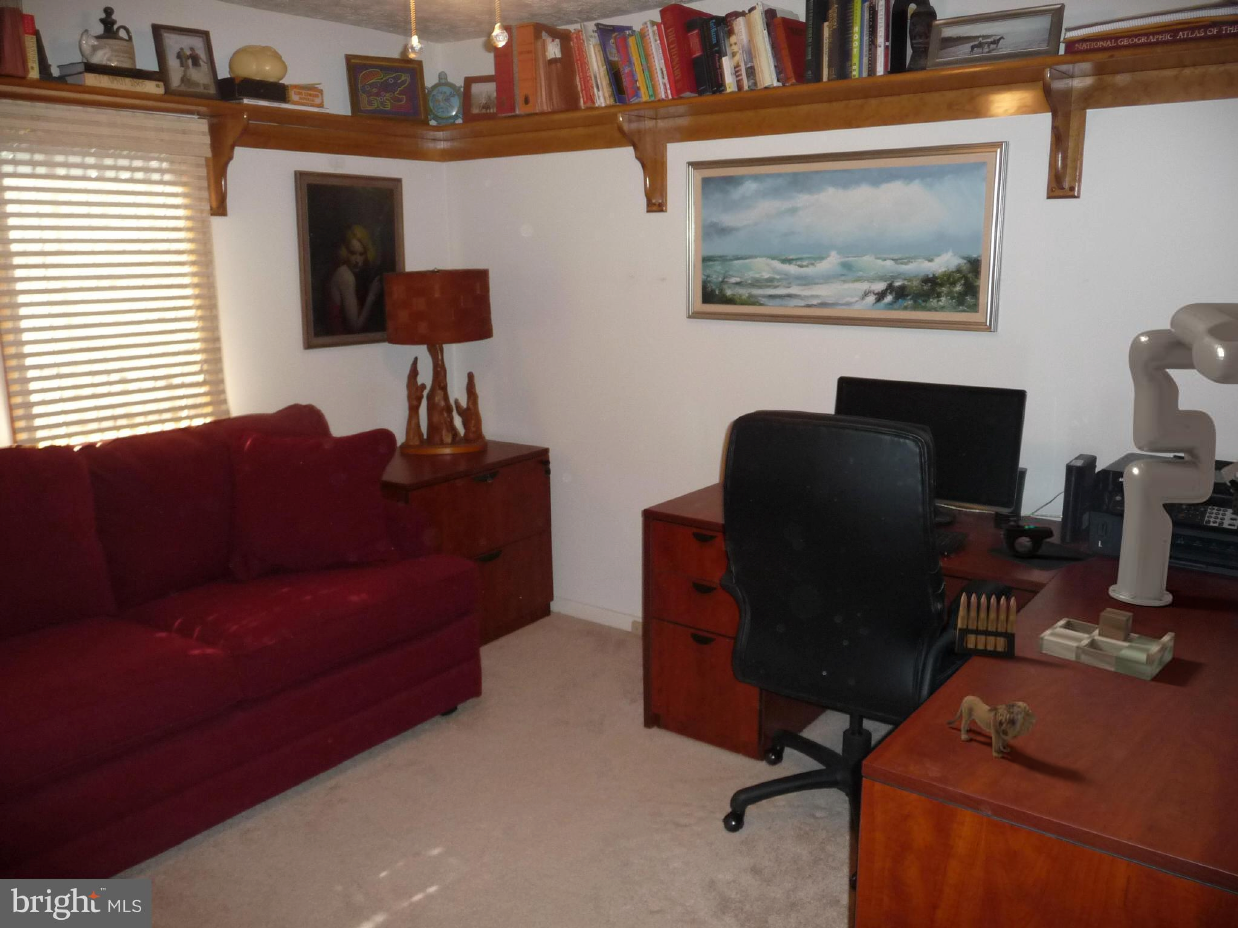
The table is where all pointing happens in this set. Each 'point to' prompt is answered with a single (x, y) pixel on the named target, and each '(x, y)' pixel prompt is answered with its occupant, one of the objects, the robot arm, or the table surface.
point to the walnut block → (1115, 624)
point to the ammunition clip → (986, 628)
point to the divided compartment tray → (1107, 649)
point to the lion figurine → (996, 721)
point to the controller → (1017, 531)
